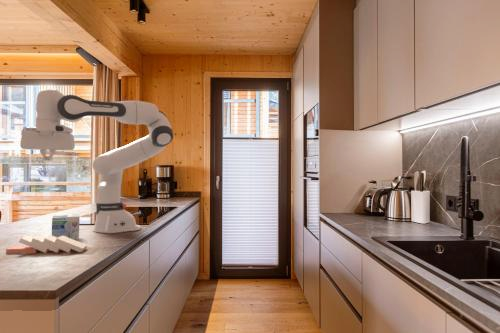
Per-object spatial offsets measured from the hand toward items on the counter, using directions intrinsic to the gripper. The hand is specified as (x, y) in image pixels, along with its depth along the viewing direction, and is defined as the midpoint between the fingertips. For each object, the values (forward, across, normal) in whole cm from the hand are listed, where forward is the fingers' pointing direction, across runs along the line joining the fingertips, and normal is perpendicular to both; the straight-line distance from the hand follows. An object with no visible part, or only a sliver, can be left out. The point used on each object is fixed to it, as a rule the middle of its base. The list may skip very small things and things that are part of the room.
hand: (47, 160), depth 138 cm
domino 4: (+33, +17, -16) cm, 41 cm away
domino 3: (+33, +13, -16) cm, 39 cm away
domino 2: (+33, +9, -16) cm, 38 cm away
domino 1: (+33, +5, -16) cm, 37 cm away
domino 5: (+33, +21, -16) cm, 43 cm away
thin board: (+35, +14, -16) cm, 41 cm away
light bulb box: (+35, +5, +7) cm, 36 cm away
